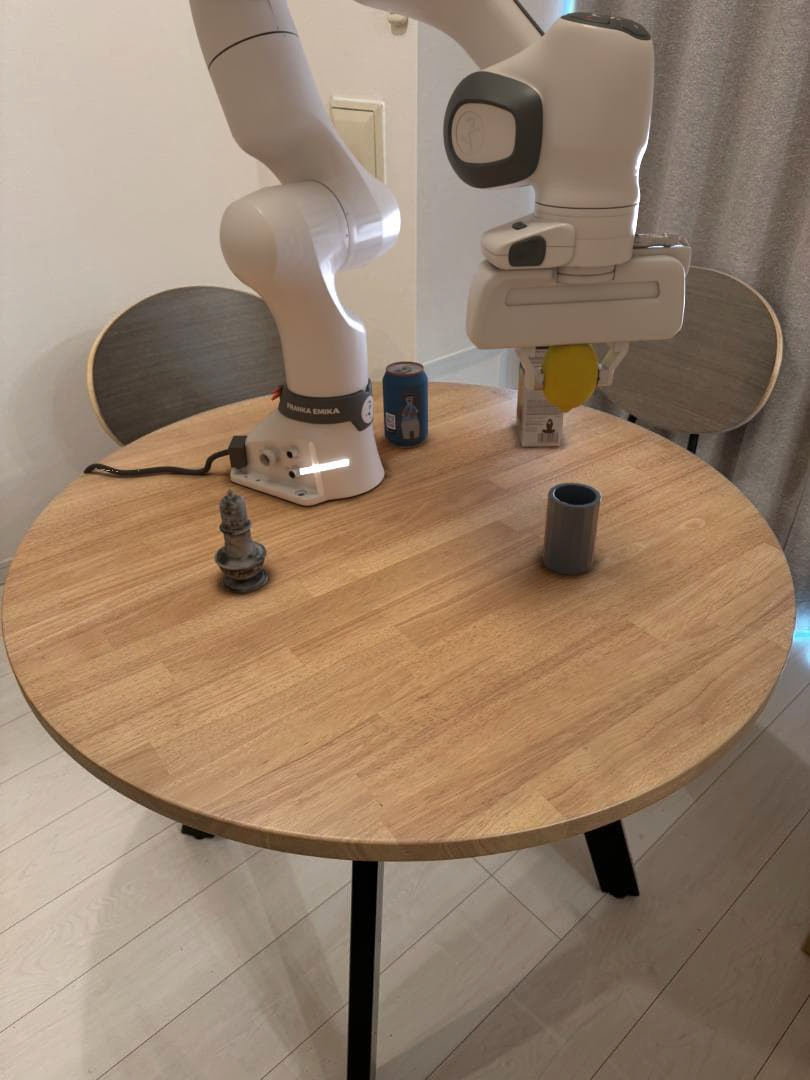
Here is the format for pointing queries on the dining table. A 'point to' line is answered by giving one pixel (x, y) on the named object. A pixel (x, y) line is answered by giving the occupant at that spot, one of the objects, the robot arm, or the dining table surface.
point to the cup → (571, 528)
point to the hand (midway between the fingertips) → (567, 386)
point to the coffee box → (537, 411)
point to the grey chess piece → (239, 548)
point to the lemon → (569, 375)
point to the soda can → (405, 404)
